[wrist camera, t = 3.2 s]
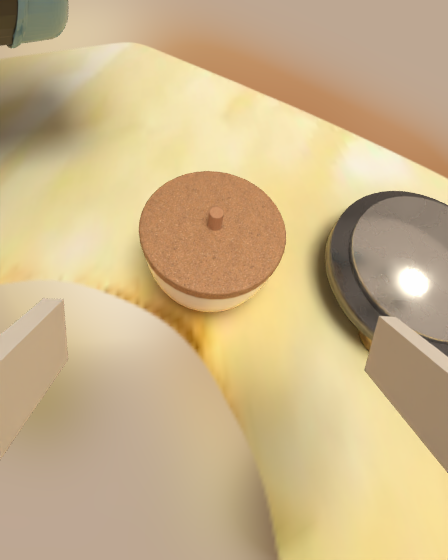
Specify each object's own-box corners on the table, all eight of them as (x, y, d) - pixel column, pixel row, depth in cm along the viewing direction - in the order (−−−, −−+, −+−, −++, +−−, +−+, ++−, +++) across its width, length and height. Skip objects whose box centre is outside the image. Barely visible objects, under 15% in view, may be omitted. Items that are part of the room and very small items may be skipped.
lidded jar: (133, 315, 28) (112, 262, 20) (165, 216, 33) (159, 140, 24) (255, 340, 28) (286, 299, 20) (269, 239, 33) (299, 171, 25)
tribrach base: (326, 370, 28) (354, 357, 23) (306, 209, 35) (324, 176, 31) (507, 375, 29) (565, 364, 25) (451, 221, 37) (489, 191, 32)
